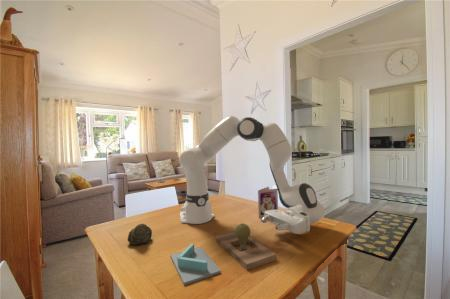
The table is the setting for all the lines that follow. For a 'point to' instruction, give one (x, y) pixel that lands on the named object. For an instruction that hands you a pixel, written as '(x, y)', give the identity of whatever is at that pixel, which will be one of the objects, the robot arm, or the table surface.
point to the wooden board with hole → (246, 251)
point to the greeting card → (267, 200)
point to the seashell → (140, 234)
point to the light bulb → (243, 235)
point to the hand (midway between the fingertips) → (269, 224)
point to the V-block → (194, 264)
